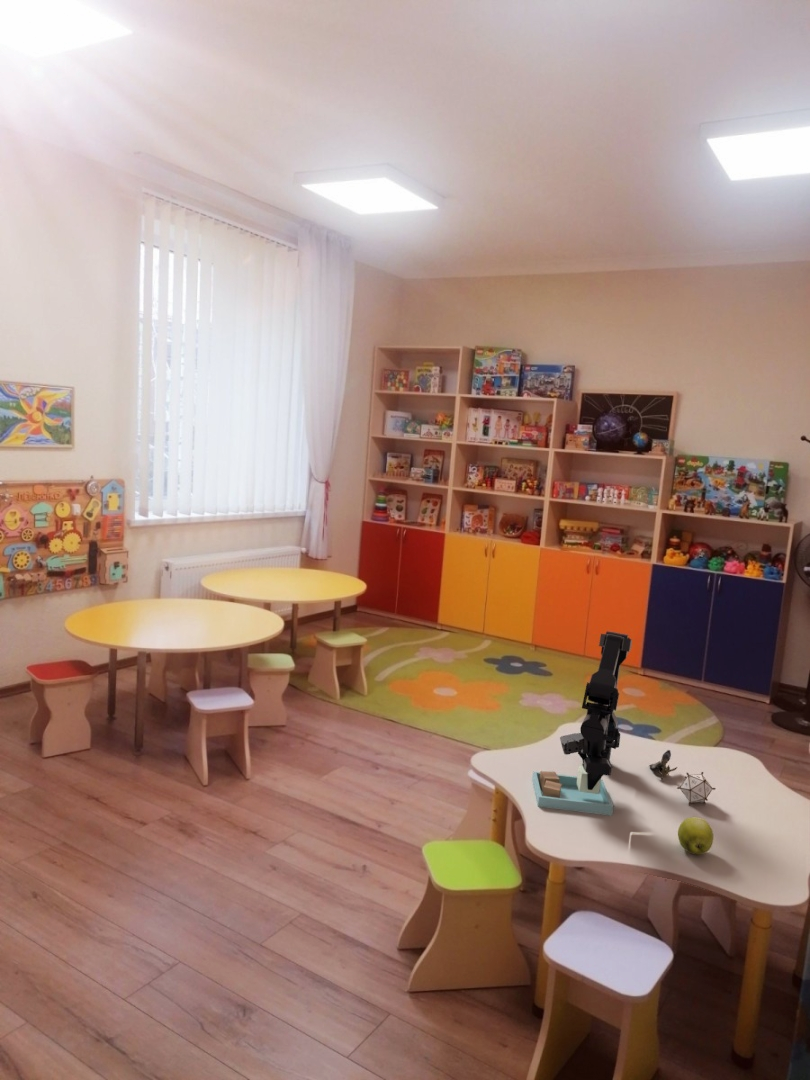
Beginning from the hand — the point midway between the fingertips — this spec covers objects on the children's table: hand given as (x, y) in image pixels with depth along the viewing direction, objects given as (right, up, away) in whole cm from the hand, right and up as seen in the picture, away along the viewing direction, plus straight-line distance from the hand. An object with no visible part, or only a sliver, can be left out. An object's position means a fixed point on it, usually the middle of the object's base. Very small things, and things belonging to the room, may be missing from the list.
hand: (588, 784), depth 203 cm
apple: (+20, -10, -19) cm, 30 cm away
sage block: (0, -1, 0) cm, 1 cm away
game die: (+30, -7, +6) cm, 31 cm away
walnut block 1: (-10, -2, +4) cm, 11 cm away
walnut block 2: (-10, -3, -2) cm, 11 cm away
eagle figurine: (+26, -4, +22) cm, 35 cm away
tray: (-4, -4, +1) cm, 6 cm away
